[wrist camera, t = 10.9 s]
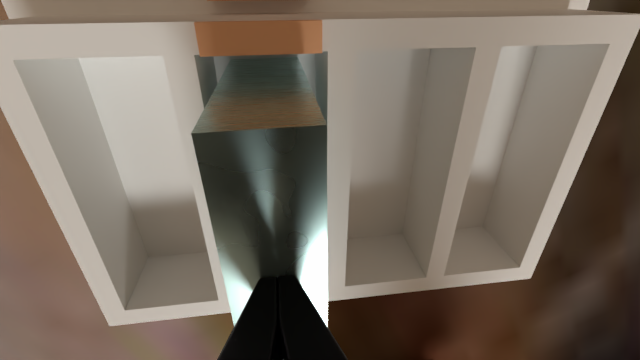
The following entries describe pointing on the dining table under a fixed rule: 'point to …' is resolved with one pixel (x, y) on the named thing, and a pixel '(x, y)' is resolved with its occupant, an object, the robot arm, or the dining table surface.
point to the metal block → (266, 178)
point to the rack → (342, 132)
